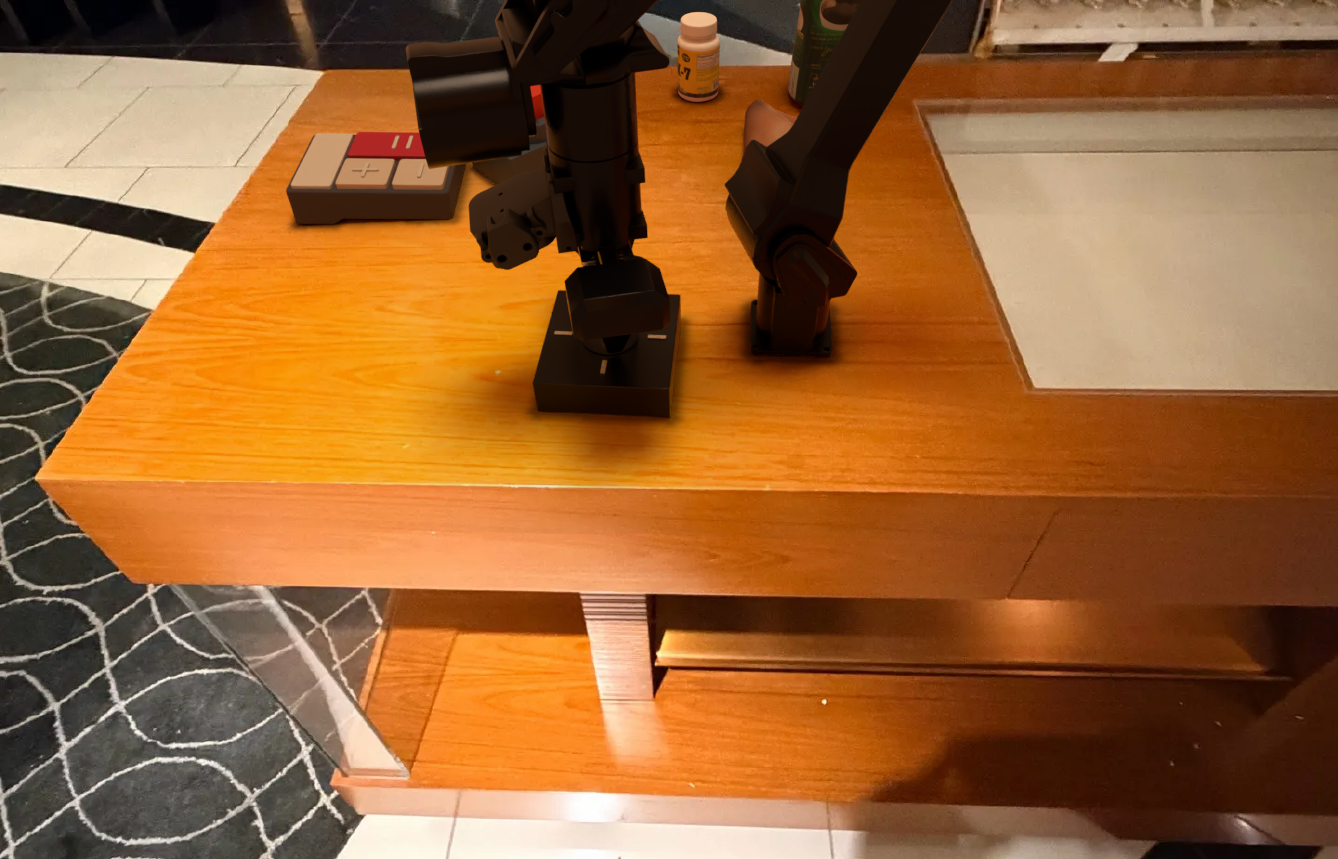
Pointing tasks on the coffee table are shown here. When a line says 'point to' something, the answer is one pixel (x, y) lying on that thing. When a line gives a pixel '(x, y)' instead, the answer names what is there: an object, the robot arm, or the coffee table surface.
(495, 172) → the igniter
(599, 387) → the panel
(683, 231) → the coffee table surface
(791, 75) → the coffee jar
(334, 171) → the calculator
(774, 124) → the sunglasses case
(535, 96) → the button
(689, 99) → the supplement bottle
